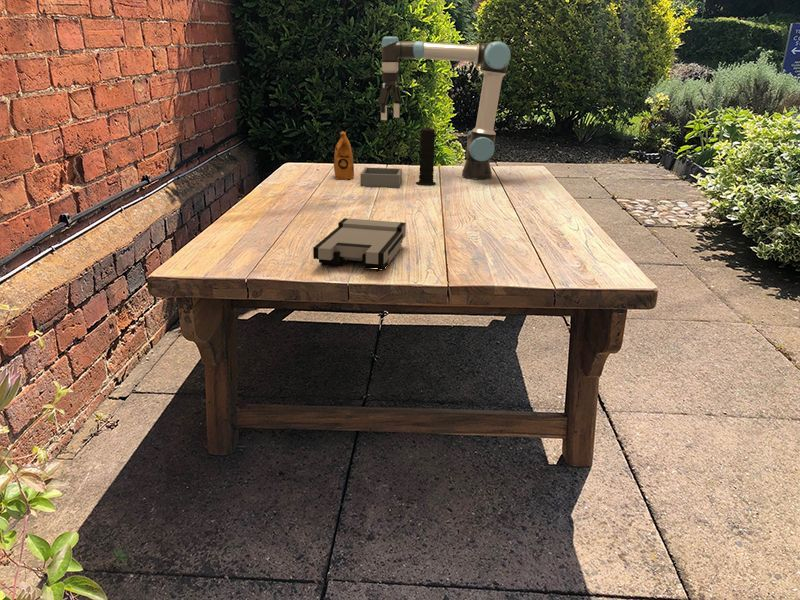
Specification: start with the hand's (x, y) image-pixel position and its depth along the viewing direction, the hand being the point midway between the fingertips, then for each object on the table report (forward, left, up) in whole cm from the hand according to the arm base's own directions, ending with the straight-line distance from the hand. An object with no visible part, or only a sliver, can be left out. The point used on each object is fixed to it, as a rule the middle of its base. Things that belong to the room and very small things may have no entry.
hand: (390, 118), depth 323 cm
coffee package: (+23, 0, -29) cm, 37 cm away
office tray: (-3, +132, -30) cm, 136 cm away
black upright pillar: (-18, +8, -29) cm, 36 cm away
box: (+3, +12, -29) cm, 32 cm away
